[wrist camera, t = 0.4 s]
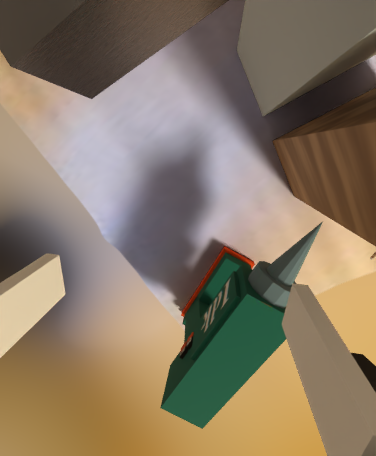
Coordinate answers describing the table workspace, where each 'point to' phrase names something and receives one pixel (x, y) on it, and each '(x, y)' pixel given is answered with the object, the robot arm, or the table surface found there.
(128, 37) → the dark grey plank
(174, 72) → the table surface
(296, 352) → the robot arm
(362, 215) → the walnut stand
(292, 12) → the blue grey stand
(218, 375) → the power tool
